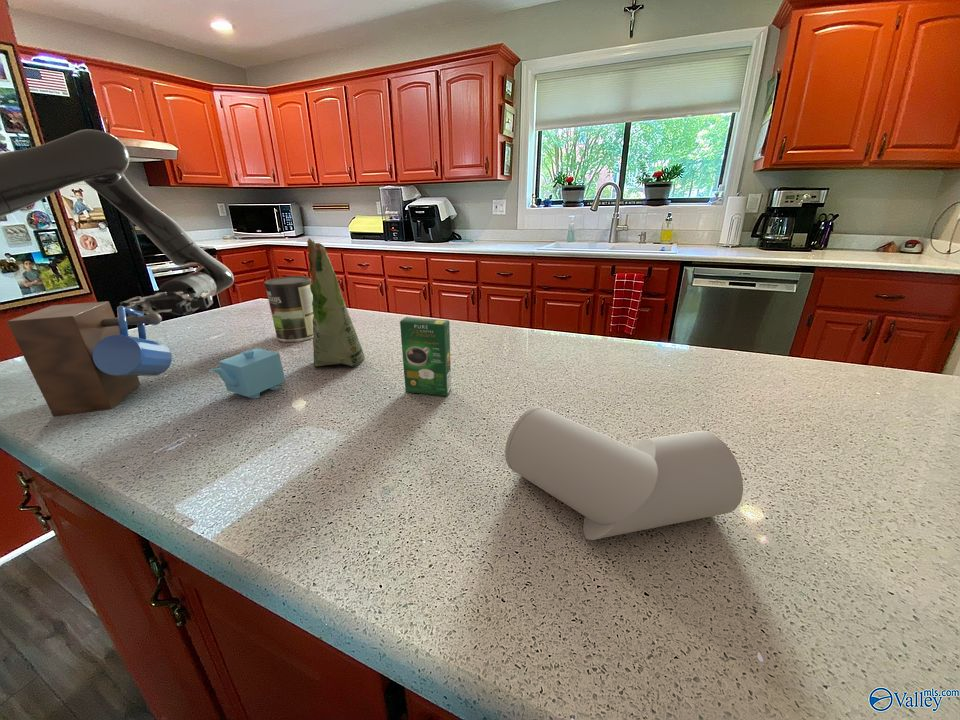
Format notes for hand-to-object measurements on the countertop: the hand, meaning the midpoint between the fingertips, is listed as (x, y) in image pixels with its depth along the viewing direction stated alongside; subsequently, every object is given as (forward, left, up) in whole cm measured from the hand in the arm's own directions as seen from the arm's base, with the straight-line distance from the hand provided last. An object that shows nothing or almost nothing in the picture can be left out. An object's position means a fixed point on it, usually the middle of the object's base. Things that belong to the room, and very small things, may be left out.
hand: (153, 312), depth 74 cm
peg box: (-4, -8, -13) cm, 16 cm away
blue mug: (0, -14, -1) cm, 14 cm away
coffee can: (+21, +18, -13) cm, 31 cm away
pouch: (+31, -4, -13) cm, 34 cm away
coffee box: (+47, -24, -13) cm, 54 cm away
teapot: (+17, -14, -13) cm, 26 cm away
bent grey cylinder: (+61, -56, -13) cm, 84 cm away
